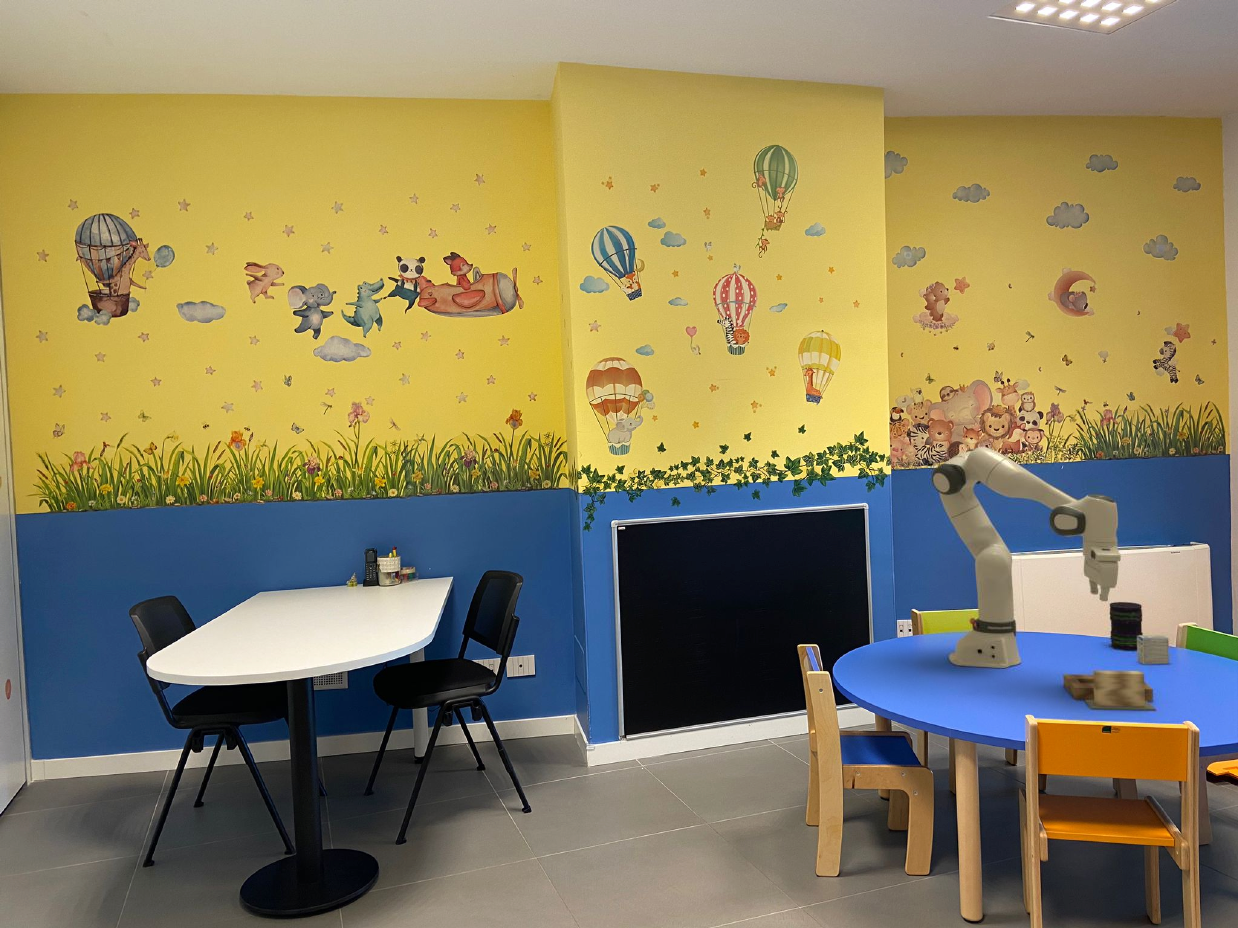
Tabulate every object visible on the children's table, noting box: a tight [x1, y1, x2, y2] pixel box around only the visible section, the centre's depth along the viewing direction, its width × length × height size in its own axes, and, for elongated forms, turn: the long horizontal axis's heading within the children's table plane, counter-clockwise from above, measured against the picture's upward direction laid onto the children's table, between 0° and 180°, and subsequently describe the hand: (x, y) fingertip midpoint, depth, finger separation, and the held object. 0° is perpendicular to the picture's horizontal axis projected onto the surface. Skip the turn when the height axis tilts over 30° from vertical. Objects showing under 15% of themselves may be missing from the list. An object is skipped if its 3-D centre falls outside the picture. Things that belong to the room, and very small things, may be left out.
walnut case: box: [1062, 673, 1154, 702], centre depth 258 cm, size 20×14×4 cm
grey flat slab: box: [1084, 700, 1157, 712], centre depth 247 cm, size 16×7×1 cm, turn 76°
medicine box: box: [1136, 634, 1170, 665], centre depth 287 cm, size 8×4×9 cm, turn 84°
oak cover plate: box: [1092, 670, 1145, 706], centre depth 247 cm, size 12×3×9 cm, turn 76°
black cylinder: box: [1109, 601, 1144, 652], centre depth 306 cm, size 10×10×15 cm
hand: (1098, 597), depth 259 cm, fingers open, 8 cm apart
